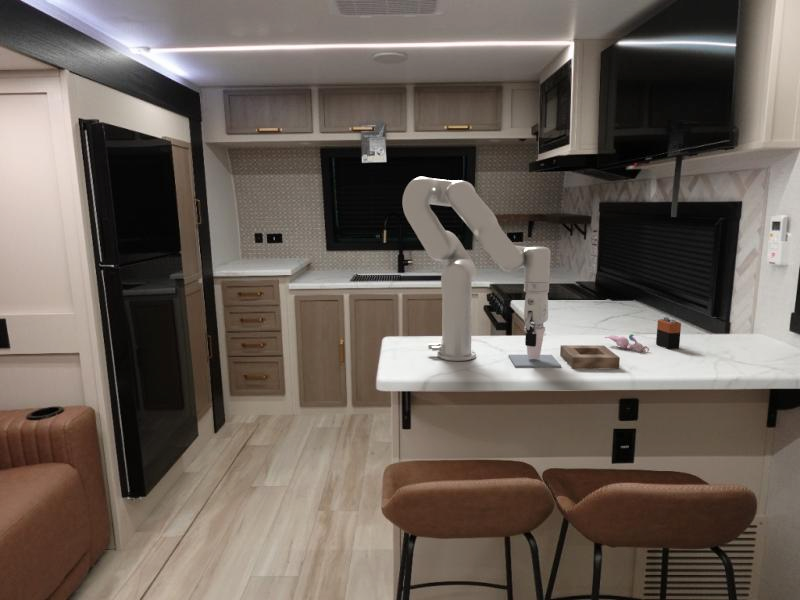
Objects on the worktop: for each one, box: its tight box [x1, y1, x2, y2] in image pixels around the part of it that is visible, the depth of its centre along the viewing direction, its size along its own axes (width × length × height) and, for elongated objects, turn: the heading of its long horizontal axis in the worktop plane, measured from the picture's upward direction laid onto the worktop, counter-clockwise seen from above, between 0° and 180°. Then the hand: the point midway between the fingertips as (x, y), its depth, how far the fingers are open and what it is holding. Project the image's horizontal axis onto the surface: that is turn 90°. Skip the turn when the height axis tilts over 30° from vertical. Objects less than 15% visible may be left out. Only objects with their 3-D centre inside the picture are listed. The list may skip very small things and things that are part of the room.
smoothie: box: [524, 325, 546, 359], centre depth 166 cm, size 6×6×14 cm
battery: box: [655, 316, 682, 350], centre depth 183 cm, size 4×7×10 cm, turn 13°
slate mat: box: [508, 354, 562, 368], centre depth 167 cm, size 14×12×1 cm
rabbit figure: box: [604, 333, 650, 354], centre depth 181 cm, size 6×6×15 cm
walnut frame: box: [559, 344, 621, 370], centre depth 166 cm, size 14×14×4 cm
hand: (534, 343), depth 166 cm, fingers closed on smoothie, 6 cm apart
